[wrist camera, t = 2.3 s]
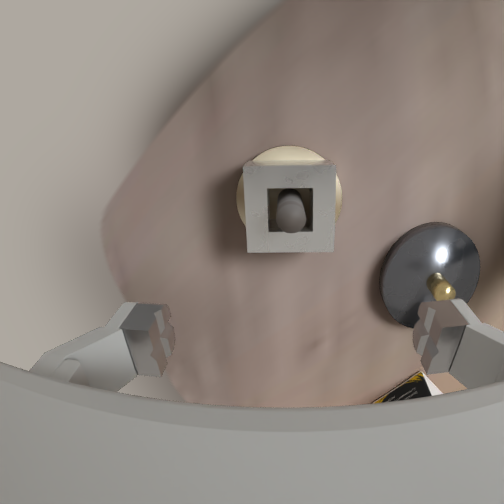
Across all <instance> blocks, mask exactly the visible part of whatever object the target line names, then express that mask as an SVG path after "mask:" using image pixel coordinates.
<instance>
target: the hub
mask: <svg viewBox="0 0 504 504" xmlns="http://www.w3.org/2000/svg"><path fill="white" fill-rule="evenodd" d="M479 274H480V259H479V254H478V251H477V248H476V246H475V244H474V243H473V242H472V240H471V239H470V238H469V237H468V236H467V235H466V234H464V233H463V232H462V231H460V230H459V229H457V228H456V227H454V226H452V225H450V224H447V223H442V222H431V223H426V224H423V225H420V226H417V227H415V228H413V229H411V230H410V231H408V232H407V233H405V234H404V235H403V236H402V237H401V238H400V239H399V240H398V241H397V242H396V243H395V244H394V245H393V247H392V248H391V249H390V251H389V252H388V254H387V256H386V258H385V260H384V262H383V265H382V268H381V273H380V282H379V283H380V292H381V296H382V298H383V301H384V303H385V305H386V307H387V309H388V311H389V313H390V314H391V316H392V317H393V318H394V319H395V320H396V321H397V322H399V323H401V324H402V325H404V326H407V327H410V328H414V326H415V324H416V323H417V322H418V321H419V320H420V317H419V315H418V310H419V306H420V304H421V302H431V301H441V300H450V299H458V298H460V299H462V300H463V301H464V302H465V303H466V304H467V302H468V301H469V300H470V298H471V296H472V295H473V293H474V291H475V288H476V286H477V283H478V279H479Z"/></svg>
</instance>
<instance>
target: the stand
mask: <svg viewBox="0 0 504 504" xmlns="http://www.w3.org/2000/svg"><path fill="white" fill-rule="evenodd" d="M262 160H324V159H323V158H322V157H321V156H319V155H318V154H316V153H315V152H313V151H311V150H309V149H306V148H303V147H298V146H279V147H274V148H272V149H269V150H267V151H265V152H263V153H261V154H260V155H258V156H257V157H256V158H255V159H253V160H252V161H262ZM269 200H270V219H276V222H277V225H278V227H279V228H280V229H281V230H282V231H284V232H286V233H296V232H299V231H300V230H301V229H302V228H303V227H304V225H305V223H306V219H309V209H310V188H269ZM236 202H237V208H238V212H239V215H240V217H241V220H242V222H243V223H244V225H245V226H246V217H245V199H244V181H243V174H242V176H241V178H240V180H239V183H238V187H237V193H236ZM341 207H342V190H341V185H340V182H339V179H338V177H337V175H336V205H335V223H336V221H337V219H338V217H339V214H340V211H341Z"/></svg>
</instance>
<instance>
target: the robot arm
mask: <svg viewBox="0 0 504 504" xmlns="http://www.w3.org/2000/svg"><path fill="white" fill-rule="evenodd" d="M418 315H419V317H420V320H419V321H418V322H417V323H416V324H415V326H414V331H413V344H414V348H415V350H416V352H417V353H418V354H420V355H422V358H421V363H422V365H423V367H424V370H425V372H426V374H436V373H444V372H449V374H451V375H452V376H453V377H454V378H456V379H457V380H458V381H459V382H460V383H462V384H463V385H464V386H465V387H467V388H468V389H466V390H461V391H456V392H451V393H446V394H440V395H434V396H428V397H422V398H415V399H408V400H400V401H392V402H383V403H373V404H362V405H349V406H332V407H302V408H271V407H240V406H223V405H209V404H198V403H188V402H179V401H170V400H162V399H155V398H148V397H141V396H135V395H129V394H124V393H118V392H117V391H118V390H120V389H121V388H122V387H123V386H125V385H126V384H127V383H129V382H130V381H131V380H133V379H134V378H135V377H137V375H145V376H155V377H161V376H162V374H163V372H164V370H165V368H166V366H167V360H166V358H167V357H168V356H170V355H171V354H172V352H173V350H174V344H175V332H174V327H173V326H172V325H171V324H170V323H169V322H168V321H169V319H170V317H171V313H170V309H169V307H168V305H167V304H154V303H138V302H124V303H123V304H122V305H121V306H120V308H119V309H118V310H117V311H116V313H115V314H114V315H113V316H112V318H111V319H110V320H109V321H108V323H107V324H106V325H105V327H99V328H97V329H94V330H92V331H90V332H88V333H86V334H84V335H82V336H80V337H77V338H75V339H73V340H71V341H69V342H67V343H65V344H62V345H60V346H58V347H56V348H54V349H52V350H50V351H47V352H45V353H44V354H43V355H42V357H41V358H40V359H39V360H38V361H37V363H36V364H35V365H34V366H33V367H32V369H31V370H30V371H26V370H23V369H20V368H17V367H14V366H11V365H8V364H5V363H2V362H0V504H504V332H503V331H501V330H499V329H497V328H495V327H493V326H491V325H489V324H486V323H481V321H480V320H479V319H478V318H477V316H476V315H475V314H474V313H473V311H472V310H471V309H470V308H469V307H468V305H467V304H466V303H465V302H464V301H463V300H462V299H460V298H458V299H450V300H441V301H431V302H421V304H420V306H419V310H418Z"/></svg>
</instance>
